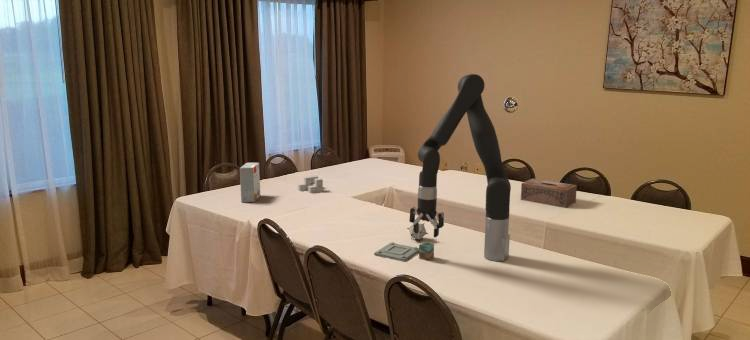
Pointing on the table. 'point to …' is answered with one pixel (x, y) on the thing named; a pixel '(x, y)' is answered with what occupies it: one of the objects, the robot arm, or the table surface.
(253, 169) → the hard drive box
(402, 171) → the table surface
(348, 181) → the table surface
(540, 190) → the tissue box cover
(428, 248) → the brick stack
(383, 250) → the baseplate
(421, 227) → the grey faceted piece
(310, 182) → the grey block assembly
